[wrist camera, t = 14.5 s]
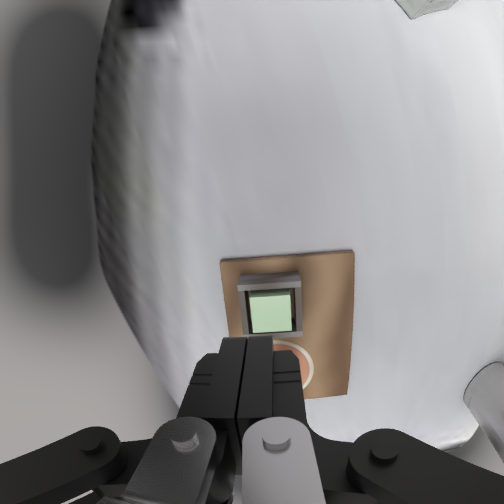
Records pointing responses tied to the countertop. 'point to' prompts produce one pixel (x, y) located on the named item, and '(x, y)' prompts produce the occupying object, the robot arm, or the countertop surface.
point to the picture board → (301, 311)
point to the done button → (270, 310)
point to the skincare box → (424, 6)
